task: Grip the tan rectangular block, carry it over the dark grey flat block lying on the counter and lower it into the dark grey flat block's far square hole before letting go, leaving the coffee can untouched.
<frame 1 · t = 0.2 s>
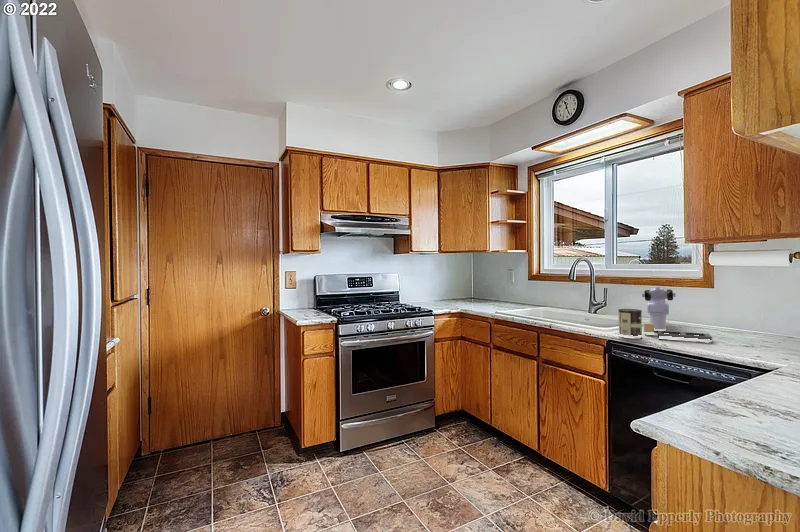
hand: (659, 295, 195), 21 cm above the countertop, tool horizontal, fingers open, 7 cm apart
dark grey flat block: (683, 339, 189), on the countertop
coffee can: (630, 337, 196), on the countertop
tan rectangular block: (649, 334, 202), on the countertop
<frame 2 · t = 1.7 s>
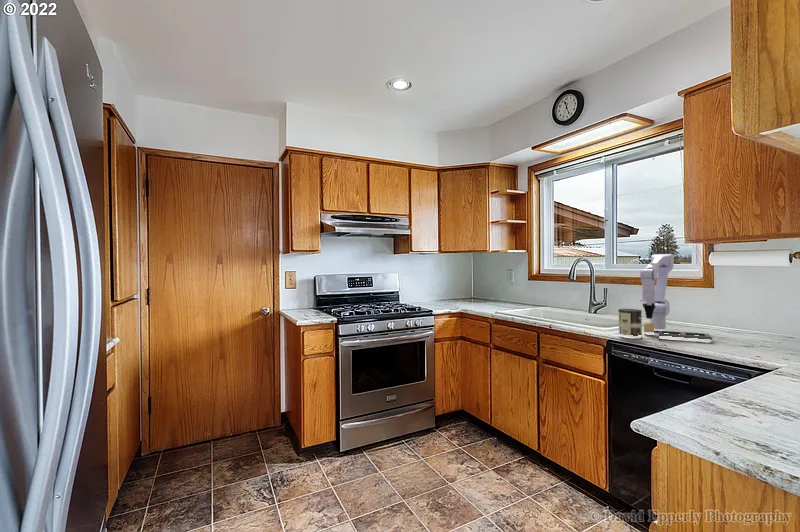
hand: (648, 317, 202), 9 cm above the countertop, tool pointing down, fingers open, 7 cm apart
nothing on the countertop moved.
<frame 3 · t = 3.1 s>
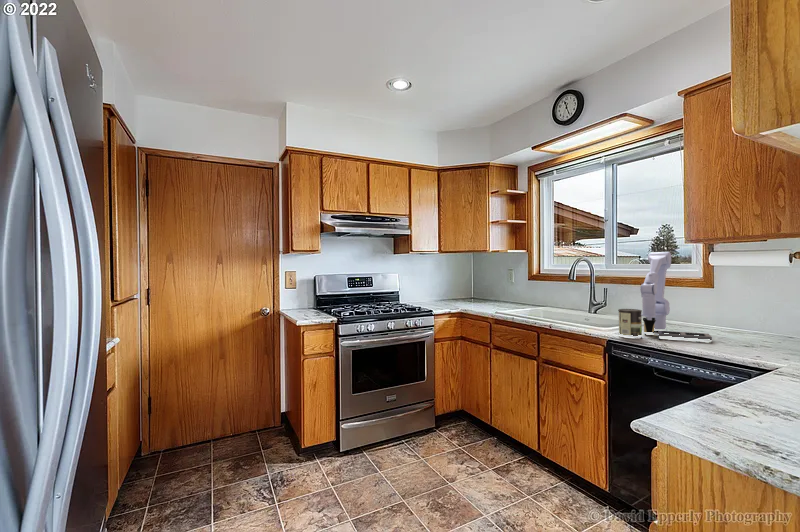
hand: (649, 332, 202), 1 cm above the countertop, tool pointing down, fingers closed on tan rectangular block, 4 cm apart
tan rectangular block: (649, 334, 202), on the countertop, touching gripper
everything else where it was.
when the fingers open (3 cm above the countertop, at t = 7.8 s): tan rectangular block drops 1 cm, resting in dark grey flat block.
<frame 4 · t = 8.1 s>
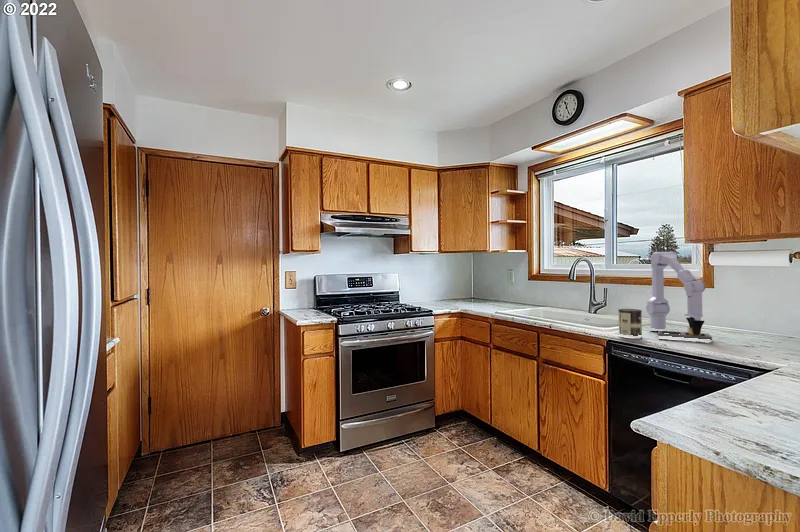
hand: (695, 333, 186), 3 cm above the countertop, tool pointing down, fingers open, 6 cm apart
tan rectangular block: (694, 340, 187), resting in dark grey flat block
everything else where it was.
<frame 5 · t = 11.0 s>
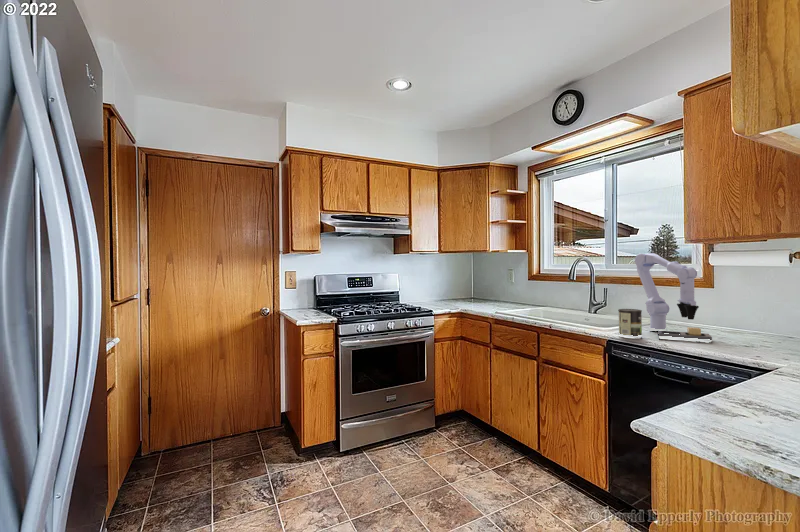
hand: (687, 318, 195), 9 cm above the countertop, tool pointing down, fingers open, 7 cm apart
nothing on the countertop moved.
at the end: tan rectangular block 0.4 cm from the target spot on the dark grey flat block, point 0.0 cm above the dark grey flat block's base; tan rectangular block tilted 0°; the gripper is holding nothing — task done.
